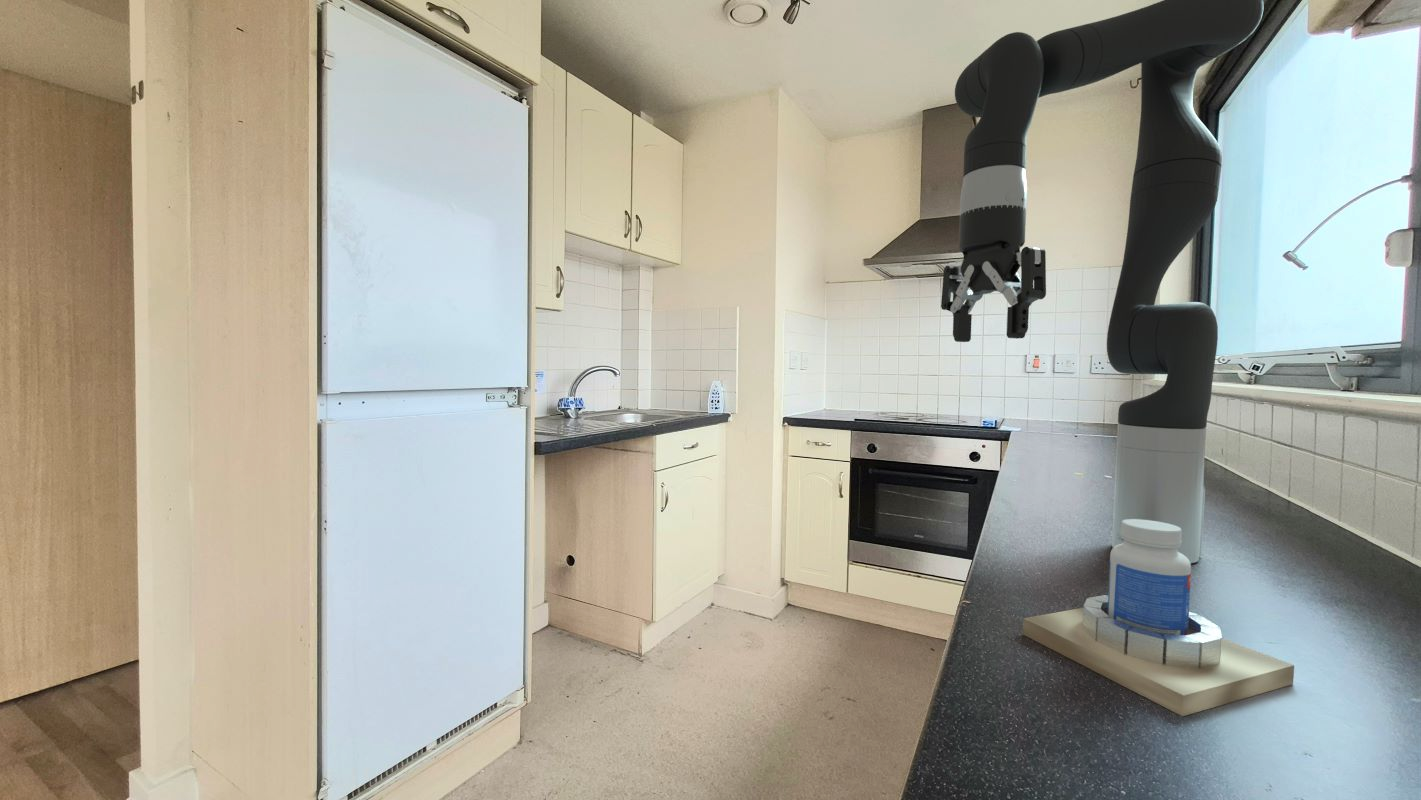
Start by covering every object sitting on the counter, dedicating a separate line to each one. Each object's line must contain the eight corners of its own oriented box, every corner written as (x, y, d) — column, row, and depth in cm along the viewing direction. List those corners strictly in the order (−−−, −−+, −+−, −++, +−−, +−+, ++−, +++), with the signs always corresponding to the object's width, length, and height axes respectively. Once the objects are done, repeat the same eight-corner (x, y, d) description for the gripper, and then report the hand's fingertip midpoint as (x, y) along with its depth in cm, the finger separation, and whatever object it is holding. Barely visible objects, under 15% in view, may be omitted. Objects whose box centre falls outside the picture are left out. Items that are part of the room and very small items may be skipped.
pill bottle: (1203, 658, 45) (1210, 536, 44) (1126, 650, 46) (1132, 531, 45) (1162, 627, 50) (1168, 518, 50) (1095, 621, 51) (1100, 514, 51)
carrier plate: (1121, 615, 56) (1122, 600, 56) (1292, 684, 44) (1294, 665, 44) (1022, 634, 52) (1023, 618, 52) (1182, 716, 39) (1183, 695, 39)
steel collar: (1129, 611, 53) (1130, 590, 53) (1246, 656, 45) (1248, 632, 45) (1059, 624, 50) (1060, 602, 50) (1171, 675, 42) (1172, 649, 42)
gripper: (1066, 198, 66) (1060, 338, 67) (972, 227, 79) (967, 343, 80) (1017, 190, 63) (1011, 336, 64) (928, 222, 77) (924, 341, 78)
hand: (987, 340), depth 72 cm, fingers open, 8 cm apart
